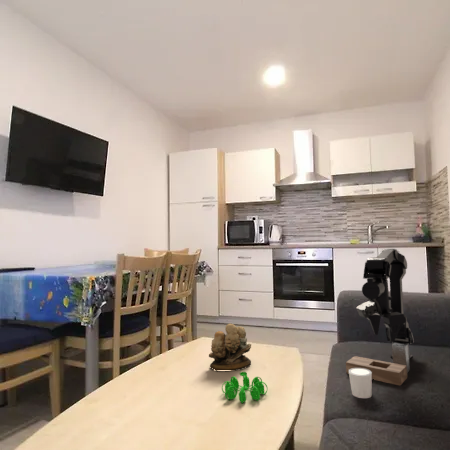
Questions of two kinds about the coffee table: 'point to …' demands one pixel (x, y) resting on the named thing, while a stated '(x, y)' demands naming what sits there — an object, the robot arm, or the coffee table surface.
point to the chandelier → (244, 388)
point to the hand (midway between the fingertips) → (383, 338)
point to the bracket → (400, 354)
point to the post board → (380, 369)
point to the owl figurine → (230, 349)
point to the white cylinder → (361, 382)
